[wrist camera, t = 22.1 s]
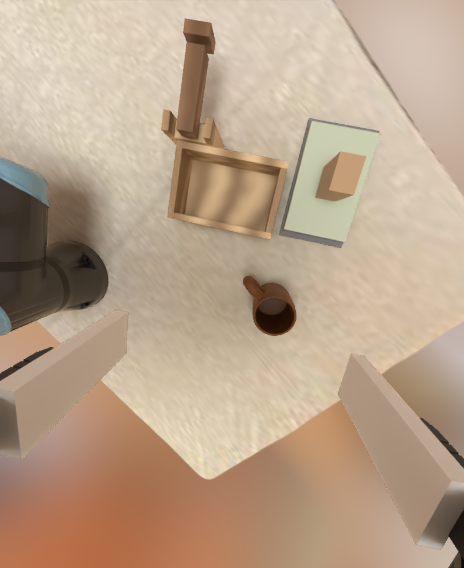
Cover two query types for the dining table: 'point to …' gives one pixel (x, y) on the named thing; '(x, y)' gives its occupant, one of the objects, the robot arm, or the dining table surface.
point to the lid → (330, 180)
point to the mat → (283, 231)
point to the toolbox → (222, 183)
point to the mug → (271, 307)
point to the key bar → (194, 75)
